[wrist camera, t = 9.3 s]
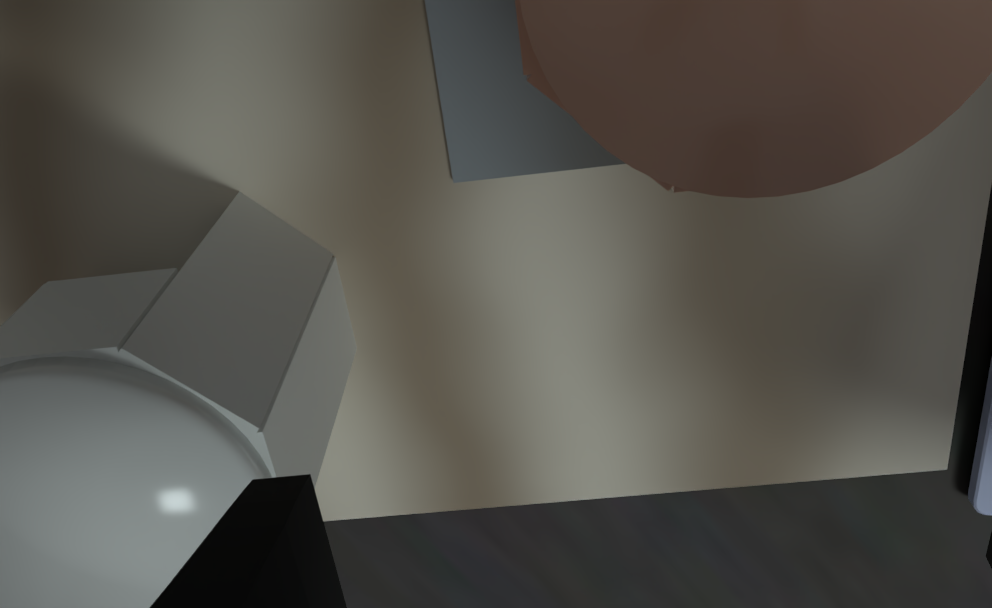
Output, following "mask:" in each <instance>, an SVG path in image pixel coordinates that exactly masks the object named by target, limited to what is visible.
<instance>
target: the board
mask: <svg viewBox="0 0 992 608" xmlns="http://www.w3.org/2000/svg"><path fill="white" fill-rule="evenodd" d="M991 184H992V72H991V74H990V75H989V76H988V77H987V79H986V80H985V81H984V82H983V83H982V85H981V86H980V87H979V88H978V89H977V90H976V91H975V92H974V93H973V94H972V95H971V96H970V97H969V98H968V99H967V100H966V101H965V103H964V104H963V105H962V106H961V107H960V108H959V109H958V110H957V111H955V112H954V113H953V114H952V115H951V116H950V117H948V118H947V119H946V120H945V121H944V122H943V123H941V124H940V125H939V126H938V127H937V128H936V129H934V130H933V131H932V132H931V133H929V134H928V135H927V136H925V137H924V138H922V139H921V140H919V141H918V142H917V143H915V144H914V145H912V146H911V147H909V148H908V149H906V150H905V151H904V152H902V153H900V154H898V155H897V156H895V157H893V158H891V159H889V160H888V161H886V162H884V163H882V164H880V165H878V166H877V167H875V168H873V169H871V170H868V171H866V172H864V173H861V174H859V175H856V176H854V177H852V178H849V179H847V180H845V181H842V182H839V183H836V184H832V185H829V186H825V187H822V188H819V189H815V190H812V191H807V192H802V193H796V194H790V195H784V196H779V197H761V198H737V197H722V196H714V195H708V194H703V193H698V192H693V191H685V192H676V193H674V192H673V190H672V188H671V189H670V190H669V191H667V190H666V189H665V188H663V187H662V186H661V185H660V184H658V183H657V182H656V181H655V180H653V179H652V178H651V177H649V176H648V175H646V174H644V173H642V172H640V171H638V170H636V169H634V168H632V167H630V166H629V165H627V164H626V163H624V162H623V161H621V160H620V159H618V158H617V157H615V156H614V155H613V154H611V153H610V152H608V151H607V150H606V149H604V148H603V147H602V146H601V145H600V144H599V143H598V142H597V141H595V140H594V139H593V138H592V137H591V136H590V135H589V134H588V133H587V132H585V131H584V130H583V128H582V127H581V126H580V125H579V124H578V123H577V121H576V120H575V119H574V118H573V117H572V116H571V115H570V114H569V113H567V112H566V111H565V110H563V109H562V108H561V107H560V106H558V105H557V104H556V103H555V102H553V101H552V100H551V99H549V98H548V97H547V96H546V95H544V94H543V93H542V92H540V91H539V90H538V89H537V88H535V87H534V86H533V85H531V84H530V83H529V82H528V81H527V76H526V75H524V74H523V65H522V57H521V48H520V40H519V31H518V23H517V14H516V6H515V0H0V326H1V325H2V324H3V323H4V322H5V321H6V320H7V319H8V318H9V317H10V316H11V315H12V314H13V313H15V312H16V311H17V310H18V309H19V308H20V307H21V306H22V305H23V304H24V303H25V302H26V301H27V300H28V299H29V298H30V297H31V296H32V295H33V294H34V293H35V292H36V291H37V290H38V289H39V288H40V287H41V286H42V285H43V284H44V283H45V284H46V283H47V282H48V281H57V280H67V279H76V278H86V277H95V276H104V275H114V274H123V273H132V272H142V271H151V270H160V269H170V268H177V270H178V272H179V271H180V270H181V268H182V267H183V266H184V264H185V263H186V262H187V260H188V259H189V258H190V256H191V255H192V254H193V252H194V251H195V250H196V248H197V247H198V246H199V244H200V243H201V242H202V241H203V239H204V238H205V237H206V235H207V234H208V233H209V231H210V230H211V229H212V227H213V226H214V225H215V223H216V222H217V221H218V219H219V218H220V217H221V215H222V214H223V213H224V211H225V210H226V209H227V207H228V206H229V205H230V203H231V202H232V201H233V199H234V198H235V197H236V195H237V194H238V193H239V191H240V192H241V193H243V194H244V195H246V196H247V197H249V198H250V199H252V200H253V201H255V202H256V203H258V204H259V205H261V206H262V207H264V208H265V209H267V210H268V211H270V212H271V213H273V214H274V215H276V216H277V217H279V218H280V219H282V220H283V221H285V222H286V223H288V224H289V225H291V226H292V227H294V228H295V229H297V230H298V231H300V232H301V233H303V234H304V235H306V236H307V237H309V238H310V239H312V240H313V241H315V242H316V243H318V244H319V245H321V246H322V247H324V248H325V249H327V250H328V251H330V252H331V253H333V256H332V257H336V261H337V265H338V270H339V274H340V278H341V282H342V287H343V291H344V295H345V299H346V304H347V308H348V312H349V316H350V321H351V325H352V329H353V333H354V338H355V342H356V346H357V349H356V353H355V357H354V360H353V363H352V366H351V370H350V373H349V376H348V380H347V383H346V386H345V390H344V393H343V396H342V400H341V403H340V406H339V410H338V413H337V416H336V419H335V423H334V426H333V429H332V433H331V436H330V439H329V443H328V446H327V449H326V453H325V456H324V459H323V463H322V466H321V469H320V472H319V476H318V479H317V482H316V486H315V493H316V497H317V500H318V504H319V508H320V511H321V515H322V519H323V521H333V520H345V519H357V518H369V517H381V516H393V515H405V514H417V513H430V512H442V511H454V510H466V509H478V508H490V507H502V506H514V505H526V504H538V503H550V502H562V501H574V500H586V499H599V498H611V497H623V496H635V495H647V494H659V493H671V492H683V491H695V490H707V489H719V488H731V487H743V486H755V485H768V484H780V483H792V482H804V481H816V480H828V479H840V478H852V477H864V476H876V475H888V474H900V473H912V472H924V471H937V470H947V467H948V460H949V454H950V448H951V441H952V435H953V428H954V422H955V416H956V409H957V403H958V396H959V390H960V383H961V377H962V371H963V364H964V358H965V351H966V345H967V338H968V332H969V326H970V319H971V313H972V306H973V300H974V294H975V287H976V281H977V274H978V268H979V261H980V255H981V249H982V242H983V236H984V229H985V223H986V216H987V210H988V204H989V197H990V191H991Z"/></svg>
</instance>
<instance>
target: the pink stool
mask: <svg viewBox="0 0 992 608" xmlns="http://www.w3.org/2000/svg"><path fill="white" fill-rule="evenodd" d="M515 6H516V14H517V23H518V31H519V40H520V48H521V57H522V65H523V74H524V75H526V76H527V81H528V82H529V83H530V84H531V85H533V86H534V87H535V88H537V89H538V90H539V91H540V92H542V93H543V94H544V95H546V96H547V97H548V98H549V99H551V100H552V101H553V102H555V103H556V104H557V105H558V106H560V107H561V108H562V109H563V110H565V111H566V112H567V113H569V114H570V115H571V116H572V117H573V118H574V119H575V120H576V121H577V123H578V124H579V125H580V126H581V127H582V128H583V130H584V131H585V132H587V133H588V134H589V135H590V136H591V137H592V138H593V139H594V140H595V141H597V142H598V143H599V144H600V145H601V146H602V147H603V148H604V149H606V150H607V151H608V152H610V153H611V154H613V155H614V156H615V157H617V158H618V159H620V160H621V161H623V162H624V163H626V164H627V165H629V166H630V167H632V168H634V169H636V170H638V171H640V172H642V173H644V174H646V175H648V176H649V177H651V178H652V179H653V180H655V181H656V182H657V183H658V184H660V185H661V186H662V187H663V188H665V189H666V190H667V191H669V190H670V189H671V188H672V190H673V192H674V193H676V192H685V191H693V192H698V193H703V194H708V195H714V196H722V197H737V198H761V197H779V196H784V195H790V194H796V193H802V192H807V191H812V190H815V189H819V188H822V187H825V186H829V185H832V184H836V183H839V182H842V181H845V180H847V179H849V178H852V177H854V176H856V175H859V174H861V173H864V172H866V171H868V170H871V169H873V168H875V167H877V166H878V165H880V164H882V163H884V162H886V161H888V160H889V159H891V158H893V157H895V156H897V155H898V154H900V153H902V152H904V151H905V150H906V149H908V148H909V147H911V146H912V145H914V144H915V143H917V142H918V141H919V140H921V139H922V138H924V137H925V136H927V135H928V134H929V133H931V132H932V131H933V130H934V129H936V128H937V127H938V126H939V125H940V124H941V123H943V122H944V121H945V120H946V119H947V118H948V117H950V116H951V115H952V114H953V113H954V112H955V111H957V110H958V109H959V108H960V107H961V106H962V105H963V104H964V103H965V101H966V100H967V99H968V98H969V97H970V96H971V95H972V94H973V93H974V92H975V91H976V90H977V89H978V88H979V87H980V86H981V85H982V83H983V82H984V81H985V80H986V79H987V77H988V76H989V75H990V74H991V72H992V0H515Z"/></svg>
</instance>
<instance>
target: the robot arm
mask: <svg viewBox="0 0 992 608" xmlns="http://www.w3.org/2000/svg"><path fill="white" fill-rule="evenodd" d="M968 499H969V501H970V502H971V504H972V505H973V507H974V508H975V509H976V511H977V512H978V513H981V514H983V515H992V357H991V363H990V369H989V375H988V381H987V386H986V392H985V398H984V404H983V409H982V415H981V421H980V427H979V433H978V438H977V444H976V450H975V456H974V461H973V467H972V473H971V479H970V485H969V490H968ZM986 558H987V560H988V562H989V564H990V566H991V568H992V532H991V537H990V541H989V545H988V549H987V554H986ZM150 608H347V607H346V604H345V600H344V596H343V593H342V589H341V585H340V581H339V578H338V574H337V570H336V567H335V563H334V559H333V556H332V552H331V548H330V545H329V541H328V537H327V534H326V530H325V526H324V522H323V519H322V515H321V511H320V508H319V504H318V500H317V497H316V493H315V489H314V486H313V482H312V478H311V475H310V474H306V475H296V476H285V477H274V478H264V479H253V480H252V481H251V482H250V483H249V484H248V485H247V487H246V488H245V489H244V490H243V491H242V493H241V494H240V495H239V496H238V498H237V499H236V500H235V501H234V502H233V504H232V505H231V506H230V507H229V509H228V510H227V511H226V512H225V514H224V515H223V516H222V517H221V519H220V520H219V521H218V523H217V524H216V525H215V526H214V528H213V529H212V530H211V531H210V533H209V534H208V535H207V537H206V538H205V539H204V540H203V542H202V543H201V544H200V545H199V547H198V548H197V549H196V551H195V552H194V553H193V554H192V556H191V557H190V558H189V559H188V561H187V562H186V563H185V564H184V566H183V567H182V568H181V569H180V571H179V572H178V573H177V574H176V576H175V577H174V578H173V579H172V581H171V582H170V583H169V585H168V586H167V587H166V588H165V589H164V591H163V592H162V593H161V594H160V596H159V597H158V598H157V599H156V600H155V602H154V603H153V604H152V605H151V606H150Z"/></svg>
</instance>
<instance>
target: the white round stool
mask: <svg viewBox="0 0 992 608" xmlns="http://www.w3.org/2000/svg"><path fill="white" fill-rule="evenodd" d="M332 256H333V253H331V252H330V251H328V250H327V249H325V248H324V247H322V246H321V245H319V244H318V243H316V242H315V241H313V240H312V239H310V238H309V237H307V236H306V235H304V234H303V233H301V232H300V231H298V230H297V229H295V228H294V227H292V226H291V225H289V224H288V223H286V222H285V221H283V220H282V219H280V218H279V217H277V216H276V215H274V214H273V213H271V212H270V211H268V210H267V209H265V208H264V207H262V206H261V205H259V204H258V203H256V202H255V201H253V200H252V199H250V198H249V197H247V196H246V195H244V194H243V193H241V192H240V191H239V193H238V194H237V195H236V197H235V198H234V199H233V201H232V202H231V203H230V205H229V206H228V207H227V209H226V210H225V211H224V213H223V214H222V215H221V217H220V218H219V219H218V221H217V222H216V223H215V225H214V226H213V227H212V229H211V230H210V231H209V233H208V234H207V235H206V237H205V238H204V239H203V241H202V242H201V243H200V244H199V246H198V247H197V248H196V250H195V251H194V252H193V254H192V255H191V256H190V258H189V259H188V260H187V262H186V263H185V264H184V266H183V267H182V268H181V270H180V271H179V272H178V270H177V268H170V269H160V270H151V271H142V272H132V273H123V274H114V275H104V276H95V277H86V278H76V279H67V280H57V281H48V282H47V283H46V284H45V283H44V284H43V285H42V286H41V287H40V288H39V289H38V290H37V291H36V292H35V293H34V294H33V295H32V296H31V297H30V298H29V299H28V300H27V301H26V302H25V303H24V304H23V305H22V306H21V307H20V308H19V309H18V310H17V311H16V312H15V313H13V314H12V315H11V316H10V317H9V318H8V319H7V320H6V321H5V322H4V323H3V324H2V325H1V326H0V608H150V606H151V605H152V604H153V603H154V602H155V600H156V599H157V598H158V597H159V596H160V594H161V593H162V592H163V591H164V589H165V588H166V587H167V586H168V585H169V583H170V582H171V581H172V579H173V578H174V577H175V576H176V574H177V573H178V572H179V571H180V569H181V568H182V567H183V566H184V564H185V563H186V562H187V561H188V559H189V558H190V557H191V556H192V554H193V553H194V552H195V551H196V549H197V548H198V547H199V545H200V544H201V543H202V542H203V540H204V539H205V538H206V537H207V535H208V534H209V533H210V531H211V530H212V529H213V528H214V526H215V525H216V524H217V523H218V521H219V520H220V519H221V517H222V516H223V515H224V514H225V512H226V511H227V510H228V509H229V507H230V506H231V505H232V504H233V502H234V501H235V500H236V499H237V498H238V496H239V495H240V494H241V493H242V491H243V490H244V489H245V488H246V487H247V485H248V484H249V483H250V482H251V481H252V480H253V479H264V478H274V477H285V476H296V475H306V474H310V475H311V478H312V482H313V486H314V489H315V486H316V482H317V479H318V476H319V472H320V469H321V466H322V463H323V459H324V456H325V453H326V449H327V446H328V443H329V439H330V436H331V433H332V429H333V426H334V423H335V419H336V416H337V413H338V410H339V406H340V403H341V400H342V396H343V393H344V390H345V386H346V383H347V380H348V376H349V373H350V370H351V366H352V363H353V360H354V357H355V353H356V349H357V346H356V342H355V338H354V333H353V329H352V325H351V321H350V316H349V312H348V308H347V304H346V299H345V295H344V291H343V287H342V282H341V278H340V274H339V270H338V265H337V261H336V257H332Z"/></svg>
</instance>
